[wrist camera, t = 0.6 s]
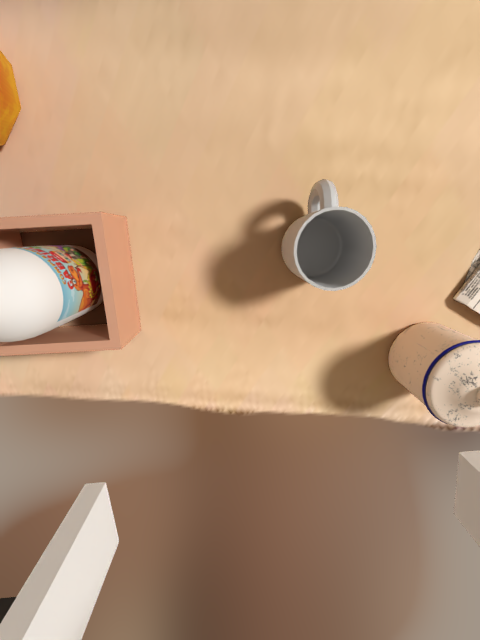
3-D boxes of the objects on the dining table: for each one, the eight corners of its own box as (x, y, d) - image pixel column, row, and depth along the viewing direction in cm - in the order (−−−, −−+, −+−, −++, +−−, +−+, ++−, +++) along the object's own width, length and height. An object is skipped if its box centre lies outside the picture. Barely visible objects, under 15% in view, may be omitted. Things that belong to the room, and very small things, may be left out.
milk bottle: (99, 322, 39) (-36, 403, 20) (35, 295, 38) (-171, 353, 19) (120, 262, 38) (-4, 287, 18) (55, 233, 37) (-149, 226, 17)
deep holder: (8, 223, 36) (-44, 220, 30) (126, 216, 36) (101, 211, 30) (33, 336, 39) (-10, 356, 33) (141, 330, 39) (121, 349, 33)
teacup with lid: (386, 393, 42) (442, 451, 30) (383, 325, 40) (442, 359, 28) (481, 380, 42) (573, 433, 30) (483, 310, 39) (583, 339, 28)
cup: (281, 281, 38) (294, 293, 30) (277, 189, 36) (291, 174, 27) (343, 276, 38) (375, 288, 30) (344, 184, 36) (378, 167, 27)
